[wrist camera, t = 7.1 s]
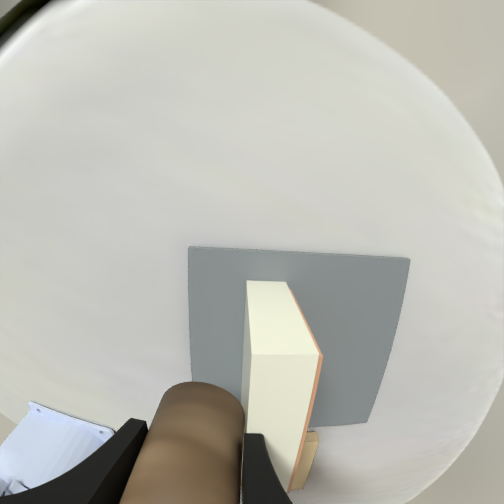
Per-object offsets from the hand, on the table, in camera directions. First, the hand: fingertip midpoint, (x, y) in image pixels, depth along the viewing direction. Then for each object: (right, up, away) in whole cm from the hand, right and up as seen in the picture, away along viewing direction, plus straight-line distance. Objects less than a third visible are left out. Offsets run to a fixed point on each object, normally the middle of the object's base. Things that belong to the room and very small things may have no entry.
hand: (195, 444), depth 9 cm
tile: (+3, +1, +7) cm, 7 cm away
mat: (+5, +1, +7) cm, 9 cm away
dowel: (0, 0, +2) cm, 2 cm away
